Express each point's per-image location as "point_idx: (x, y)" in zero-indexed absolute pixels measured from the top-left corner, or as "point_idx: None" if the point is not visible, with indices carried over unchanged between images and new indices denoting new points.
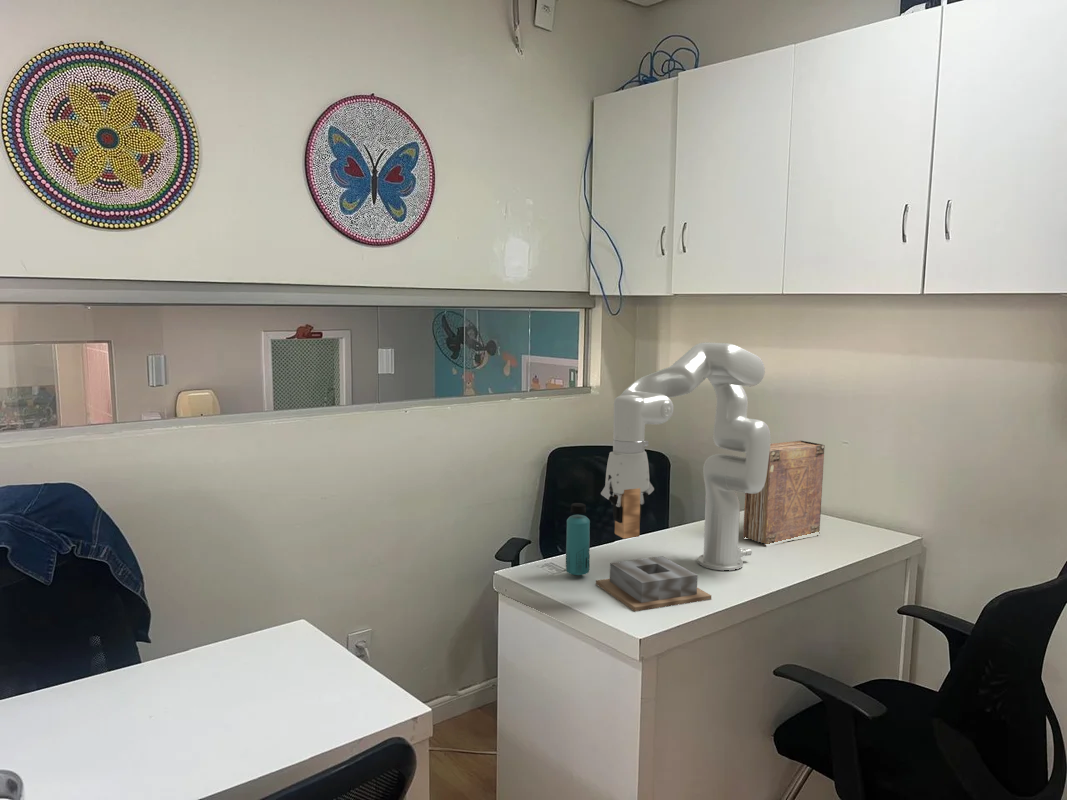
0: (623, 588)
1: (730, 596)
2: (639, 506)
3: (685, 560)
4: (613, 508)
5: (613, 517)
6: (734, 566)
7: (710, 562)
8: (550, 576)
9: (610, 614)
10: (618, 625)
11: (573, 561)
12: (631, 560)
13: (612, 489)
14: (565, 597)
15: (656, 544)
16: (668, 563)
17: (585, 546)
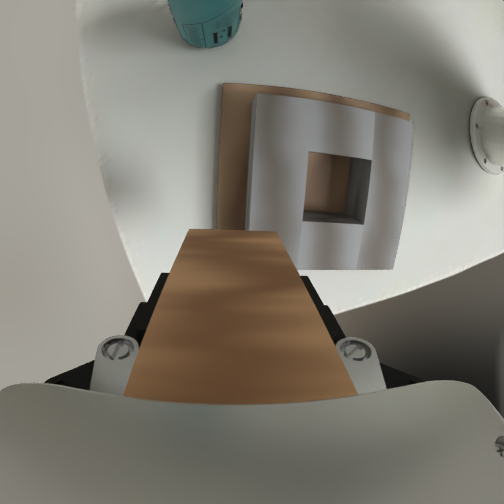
0: (248, 170)
1: (416, 264)
2: None
3: (463, 83)
4: (126, 334)
5: (143, 302)
6: (493, 173)
7: (481, 138)
8: (153, 14)
9: (162, 257)
10: None
11: (180, 28)
12: (326, 104)
13: (78, 398)
14: (116, 139)
15: (453, 2)
16: (395, 173)
17: (210, 18)
